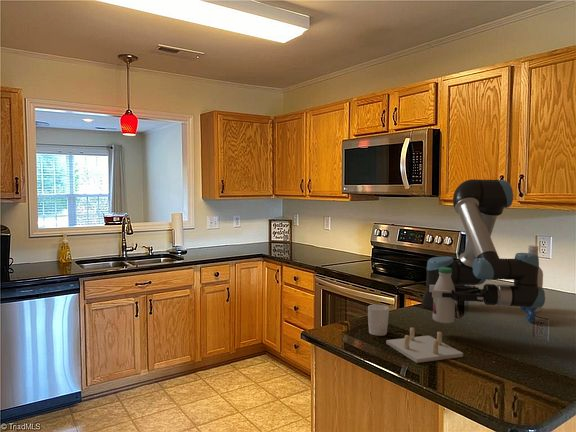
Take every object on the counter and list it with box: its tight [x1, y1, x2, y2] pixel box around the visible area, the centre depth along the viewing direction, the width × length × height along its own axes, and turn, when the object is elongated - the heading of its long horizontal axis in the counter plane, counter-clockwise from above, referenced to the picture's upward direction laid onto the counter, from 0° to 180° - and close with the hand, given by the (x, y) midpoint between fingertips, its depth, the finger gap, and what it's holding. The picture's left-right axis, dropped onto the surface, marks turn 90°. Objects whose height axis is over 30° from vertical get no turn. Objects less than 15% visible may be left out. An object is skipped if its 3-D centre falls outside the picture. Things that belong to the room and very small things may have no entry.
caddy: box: [385, 327, 464, 364], centre depth 147 cm, size 18×18×6 cm
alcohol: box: [523, 244, 544, 313], centre depth 200 cm, size 9×9×30 cm
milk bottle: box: [432, 267, 456, 324], centre depth 161 cm, size 8×8×20 cm
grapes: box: [519, 307, 537, 323], centre depth 183 cm, size 12×7×12 cm, turn 156°
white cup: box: [367, 304, 390, 337], centre depth 164 cm, size 8×8×10 cm
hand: (431, 290), depth 162 cm, fingers closed on milk bottle, 7 cm apart
